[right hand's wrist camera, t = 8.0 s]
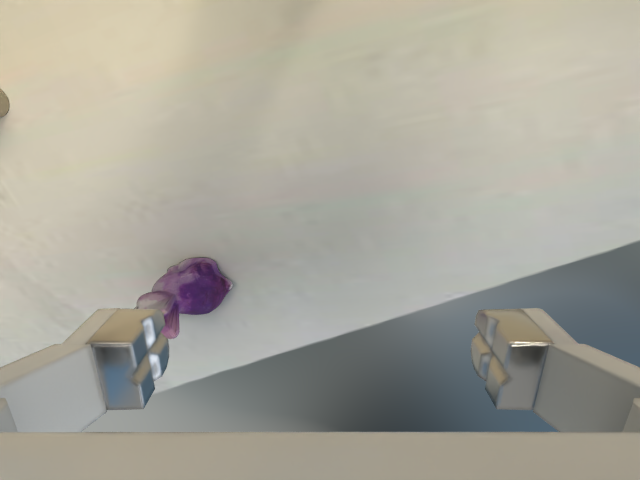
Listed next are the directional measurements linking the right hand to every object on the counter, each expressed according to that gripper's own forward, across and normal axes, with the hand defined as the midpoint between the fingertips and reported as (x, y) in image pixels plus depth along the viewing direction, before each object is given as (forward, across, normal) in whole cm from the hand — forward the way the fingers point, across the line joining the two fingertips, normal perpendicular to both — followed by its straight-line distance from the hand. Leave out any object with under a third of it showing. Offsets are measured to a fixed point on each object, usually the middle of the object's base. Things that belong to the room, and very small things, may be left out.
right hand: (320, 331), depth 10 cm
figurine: (+48, +20, +22) cm, 57 cm away
